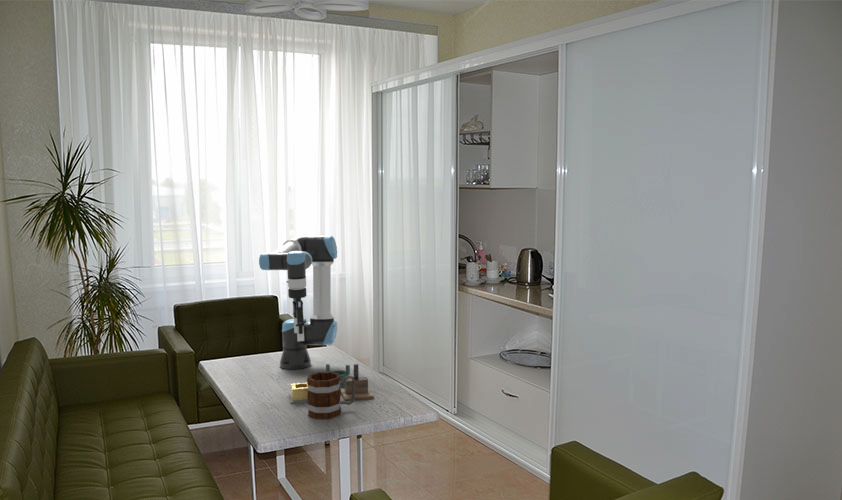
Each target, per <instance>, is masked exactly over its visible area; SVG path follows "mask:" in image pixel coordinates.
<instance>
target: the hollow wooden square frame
mask: <svg viewBox="0 0 842 500" xmlns="http://www.w3.org/2000/svg"><path fill="white" fill-rule="evenodd" d="M290 395H291V396H292V400H293V401H301V400H308V383H307V381H306V382H296V383H290Z"/></svg>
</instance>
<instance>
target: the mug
mask: <svg viewBox="0 0 842 500" xmlns="http://www.w3.org/2000/svg"><path fill="white" fill-rule="evenodd" d="M349 378H352V381H353V384H352V398H351V401H345V400H341V395H342V394H341V390H340V389H341V387H340V385H341V384H344V383H345V382H346V380H347V379H349ZM306 382H307V383H308V402H307V404H308V406H307V407H308V411H307V416H308V417H309V418H312V419H315V420H331V419H334V418H337V417H340V416H341V413H342V408H341V405H347V406H350V405H351V404H353V403H354V399H355V384H356V382H355V379H354V375H353V376H352V375H350V374H349V375H347V376H346V377H345V378H344V379H343V380H342V381H340V374H338V373H335V372H331V371H330V372H326V371H318V372H314V373H311V374H308V376H307V377H306Z"/></svg>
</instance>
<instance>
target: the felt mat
mask: <svg viewBox="0 0 842 500" xmlns="http://www.w3.org/2000/svg"><path fill="white" fill-rule="evenodd" d="M288 398H289V403H290V405H293V404H301V403H303V404H304V403H308V400H301V401H293V400H292V396H291V394H288Z"/></svg>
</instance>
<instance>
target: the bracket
mask: <svg viewBox="0 0 842 500" xmlns="http://www.w3.org/2000/svg"><path fill="white" fill-rule="evenodd" d="M330 368H331V365H330V364H328V363H327V364H325V372H335V373H338V374H340V381H342V380H343V379H344V378H345V377H346V376H348V375H349V376H350V374H351V371H350V370H351V369H350V368H351V367H350V364H345V370H340V369H339V370H332V371H331V369H330ZM342 387H345V383H344V384H341V385H340V388H342Z"/></svg>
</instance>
